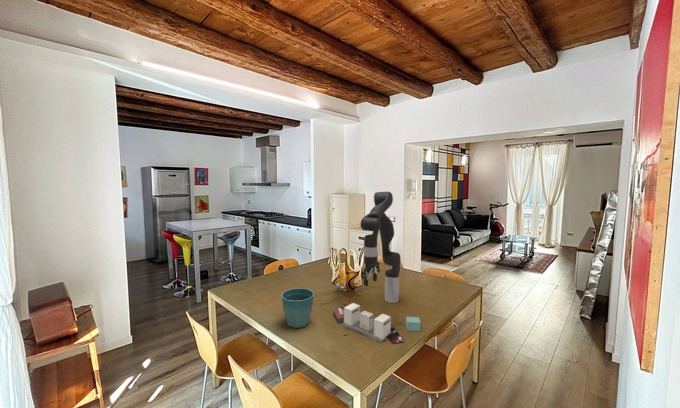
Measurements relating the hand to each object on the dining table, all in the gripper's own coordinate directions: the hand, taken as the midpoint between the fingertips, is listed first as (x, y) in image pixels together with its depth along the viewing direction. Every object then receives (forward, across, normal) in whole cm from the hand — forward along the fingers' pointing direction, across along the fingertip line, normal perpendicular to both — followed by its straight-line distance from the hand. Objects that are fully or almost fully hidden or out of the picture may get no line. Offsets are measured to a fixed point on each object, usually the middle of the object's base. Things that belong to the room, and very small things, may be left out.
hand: (370, 283), depth 156 cm
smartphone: (+26, 0, +14) cm, 29 cm away
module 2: (+24, +4, +10) cm, 26 cm away
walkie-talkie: (+26, 0, -21) cm, 33 cm away
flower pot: (+25, +23, -34) cm, 48 cm away
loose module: (+24, +4, 0) cm, 24 cm away
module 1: (+24, +4, -10) cm, 26 cm away
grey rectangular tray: (+25, +4, 0) cm, 25 cm away
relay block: (+23, -12, +16) cm, 30 cm away
